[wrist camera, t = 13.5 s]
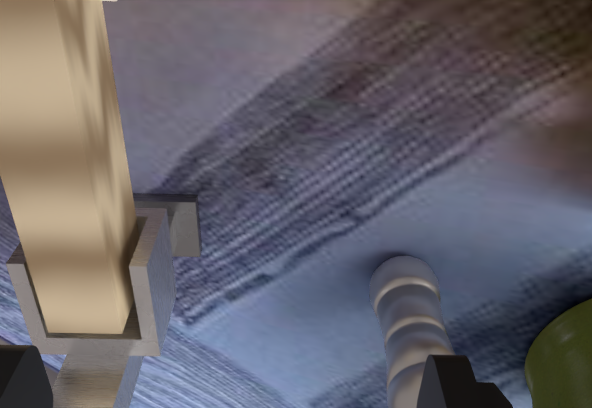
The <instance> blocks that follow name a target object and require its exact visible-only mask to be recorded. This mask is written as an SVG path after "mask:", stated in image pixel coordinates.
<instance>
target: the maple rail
mask: <svg viewBox="0 0 592 408" xmlns="http://www.w3.org/2000/svg"><path fill="white" fill-rule="evenodd" d="M0 176H1V179H2V182H3V186H4V189H5V192H6V196H7V199H8V202H9V205H10V209H11V212H12V215H13V218H14V222H15V225H16V228H17V231H18V235H19V238H20V241H21V245H22V248H23V251H24V254H25V258H26V261H27V264H28V267H29V271H30V274H31V277H32V280H33V284H34V287H35V290H36V293H37V297H38V300H39V303H40V307H41V310H42V313H43V316H44V320H45V323H46V326H47V329H48V333H99V334H122V333H123V330H124V327H125V324H126V321H127V318H128V315H129V312H130V310H131V307H132V304H133V301H134V292H133V287H132V281H131V276H130V270H129V265H130V262H131V259H132V257H133V254H134V252H135V249H136V247H137V244H138V241H139V239H140V238H139V231H138V225H137V219H136V213H135V206H134V200H133V194H132V187H131V181H130V175H129V169H128V162H127V156H126V150H125V144H124V137H123V131H122V125H121V118H120V112H119V106H118V100H117V93H116V87H115V81H114V75H113V68H112V62H111V56H110V49H109V43H108V37H107V31H106V24H105V18H104V12H103V6H102V0H0Z"/></svg>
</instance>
